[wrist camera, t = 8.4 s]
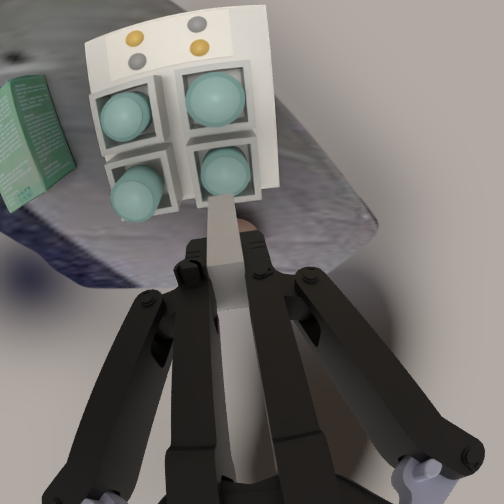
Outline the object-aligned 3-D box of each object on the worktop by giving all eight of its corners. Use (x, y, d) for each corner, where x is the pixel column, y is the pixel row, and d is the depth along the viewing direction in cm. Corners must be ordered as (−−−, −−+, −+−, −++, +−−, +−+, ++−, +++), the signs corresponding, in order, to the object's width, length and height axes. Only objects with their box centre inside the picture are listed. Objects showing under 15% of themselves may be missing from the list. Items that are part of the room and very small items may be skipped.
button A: (108, 98, 20) (95, 101, 17) (151, 86, 20) (142, 87, 18) (117, 139, 23) (105, 147, 20) (158, 129, 23) (150, 135, 20)
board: (92, 44, 18) (68, 40, 14) (262, 9, 19) (272, -6, 14) (125, 203, 30) (111, 226, 25) (275, 180, 31) (286, 200, 26)
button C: (186, 77, 19) (181, 77, 16) (239, 70, 19) (242, 68, 16) (193, 125, 21) (189, 132, 19) (244, 118, 21) (247, 124, 19)
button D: (199, 147, 24) (196, 156, 22) (244, 141, 25) (248, 149, 22) (205, 188, 27) (204, 201, 24) (248, 182, 27) (252, 195, 25)
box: (45, 71, 18) (5, 77, 12) (79, 166, 26) (48, 192, 20) (7, 102, 18) (-31, 116, 12) (40, 188, 27) (10, 216, 21)
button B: (115, 170, 22) (103, 182, 20) (158, 160, 23) (150, 171, 20) (127, 210, 25) (118, 227, 22) (168, 203, 25) (163, 219, 23)
